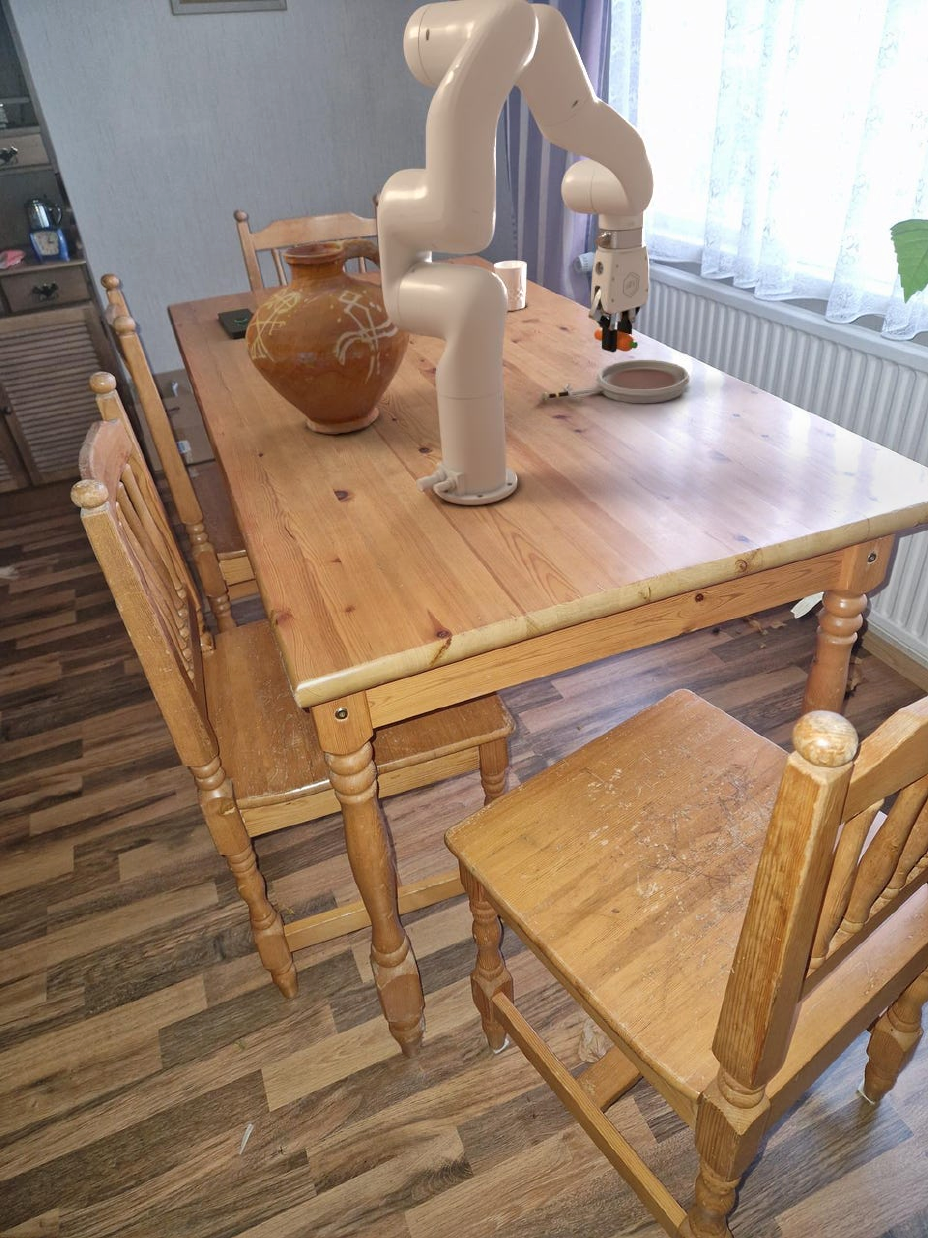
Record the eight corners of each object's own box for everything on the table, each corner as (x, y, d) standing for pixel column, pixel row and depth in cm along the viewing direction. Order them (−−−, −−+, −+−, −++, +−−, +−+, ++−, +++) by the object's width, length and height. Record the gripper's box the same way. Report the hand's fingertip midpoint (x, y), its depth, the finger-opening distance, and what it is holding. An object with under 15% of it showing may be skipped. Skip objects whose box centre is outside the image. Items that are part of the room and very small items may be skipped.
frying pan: (529, 374, 155) (668, 352, 158) (529, 389, 156) (667, 367, 159) (554, 406, 141) (706, 381, 144) (554, 421, 143) (704, 397, 146)
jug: (253, 410, 155) (215, 241, 138) (394, 383, 162) (374, 219, 145) (281, 467, 134) (239, 275, 116) (441, 432, 141) (425, 247, 123)
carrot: (641, 351, 144) (642, 334, 142) (629, 355, 142) (629, 338, 141) (601, 339, 150) (602, 323, 149) (589, 343, 149) (589, 327, 147)
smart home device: (230, 332, 193) (216, 312, 208) (232, 339, 194) (218, 319, 209) (264, 325, 196) (248, 307, 211) (266, 333, 197) (249, 314, 212)
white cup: (491, 311, 199) (490, 268, 193) (500, 302, 205) (498, 260, 199) (523, 311, 197) (522, 268, 191) (530, 302, 203) (529, 260, 197)
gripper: (601, 250, 129) (597, 364, 140) (671, 231, 136) (663, 341, 147) (569, 244, 134) (568, 354, 145) (639, 226, 141) (633, 332, 152)
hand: (616, 346), depth 146 cm, fingers closed on carrot, 3 cm apart
